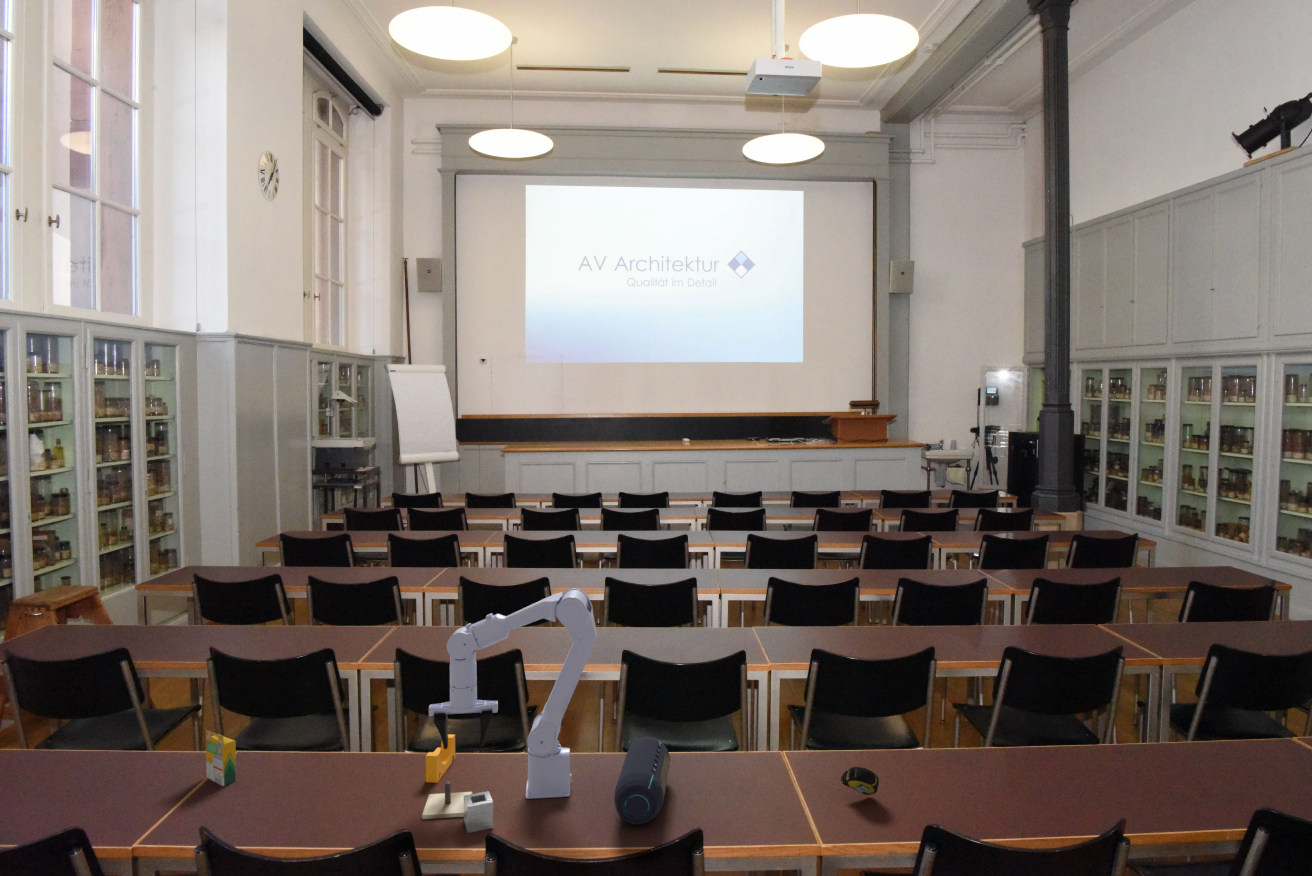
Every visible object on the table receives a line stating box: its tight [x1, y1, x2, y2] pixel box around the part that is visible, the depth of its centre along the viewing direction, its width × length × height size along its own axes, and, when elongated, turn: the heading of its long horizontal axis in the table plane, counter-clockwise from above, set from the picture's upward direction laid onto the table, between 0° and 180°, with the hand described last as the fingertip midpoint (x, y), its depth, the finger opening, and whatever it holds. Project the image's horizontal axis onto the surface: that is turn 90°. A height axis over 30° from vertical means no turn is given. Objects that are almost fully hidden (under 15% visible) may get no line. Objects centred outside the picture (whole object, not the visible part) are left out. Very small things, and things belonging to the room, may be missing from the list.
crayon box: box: [205, 729, 237, 787], centre depth 174 cm, size 7×3×12 cm, turn 58°
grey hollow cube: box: [463, 790, 494, 834], centre depth 156 cm, size 5×5×5 cm
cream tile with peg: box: [421, 781, 473, 820], centre depth 163 cm, size 9×9×5 cm
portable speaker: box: [614, 736, 671, 825], centre depth 166 cm, size 25×10×10 cm, turn 174°
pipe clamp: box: [425, 733, 456, 784], centre depth 180 cm, size 12×4×6 cm, turn 175°
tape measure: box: [840, 766, 880, 796], centre depth 166 cm, size 7×7×4 cm
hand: (464, 746), depth 170 cm, fingers open, 7 cm apart
